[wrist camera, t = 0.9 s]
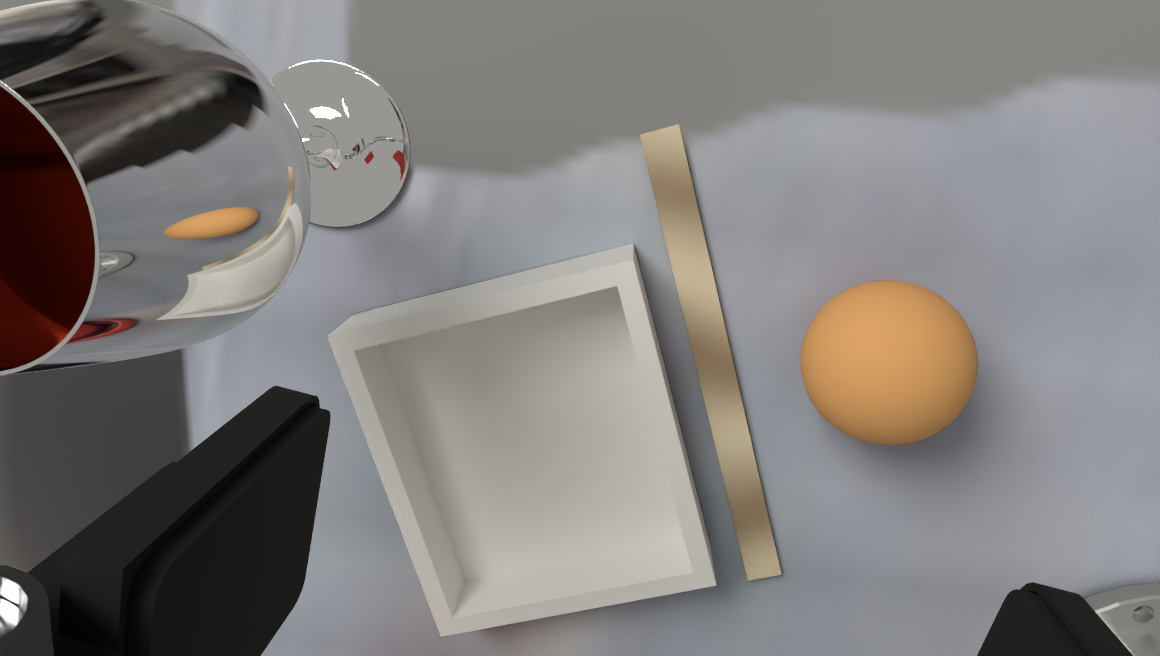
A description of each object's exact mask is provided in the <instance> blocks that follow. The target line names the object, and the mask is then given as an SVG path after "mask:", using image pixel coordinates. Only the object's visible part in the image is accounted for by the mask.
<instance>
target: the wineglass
mask: <svg viewBox="0 0 1160 656" xmlns="http://www.w3.org/2000/svg"><path fill="white" fill-rule="evenodd" d="M409 163H410V140H409V134H408V129H407V126H406V123H405V120H404V117H403V115H402V113H401V111H400V109H399V107H398V105H397V104H396V102H395V101H394V99H393V97H392V96H391V95H390V94H389V92H388V91H387V90H386V89H385V88H384V87H383V86H382V85H381V84H380V83H379V82H378V81H377V80H376V79H374V78H373V77H372V76H370V75H369V74H367V73H366V72H364V71H362V70H361V69H359V68H357V67H354V66H352V65H350V64H347V63H343V62H339V61H334V60H325V59H318V60H309V61H304V62H300V63H297V64H294V65H292V66H290V67H288V68H286V69H284V70H283V71H281V72H280V73H278V74H277V75H276V76H274V77H273V78H272V79H271V80H270V81H269V79H268V78H267V77H266V76H265V75H264V73H263V72H262V71H261V70H260V69H259V68H258V67H257V66H256V65H255V64H254V63H253V62H252V61H251V60H250V59H249V58H248V57H247V56H246V55H245V54H243V53H242V52H241V51H240V50H239V49H238V48H236V47H235V46H234V45H233V44H231V43H230V42H229V41H227V40H226V39H224V38H223V37H221V36H220V35H218V34H217V33H215V32H214V31H212V30H210V29H209V28H207V27H205V26H204V25H202V24H200V23H198V22H196V21H194V20H192V19H190V18H187V17H185V16H183V15H181V14H178V13H176V12H173V11H170V10H167V9H164V8H161V7H157V6H154V5H150V4H146V3H142V2H136V1H131V0H52V1H45V2H39V3H34V4H29V5H23V6H19V7H14V8H10V9H5V10H1V11H0V376H2V375H10V374H19V373H27V372H35V371H44V370H52V369H61V368H69V367H75V366H76V367H77V366H84V365H91V364H99V363H106V362H113V361H119V360H126V359H133V358H138V357H144V356H150V355H155V354H160V353H164V352H169V351H173V350H177V349H181V348H185V347H188V346H192V345H195V344H198V343H201V342H204V341H206V340H209V339H212V338H214V337H216V336H218V335H221V334H223V333H225V332H227V331H229V330H231V329H233V328H234V327H236V326H238V325H239V324H241V323H242V322H244V321H246V320H247V319H248V318H250V317H251V316H252V315H254V314H255V313H256V312H257V311H259V310H260V309H261V308H262V307H263V306H264V305H265V304H266V303H268V302H269V301H270V299H271V298H272V297H273V296H274V295H275V294H276V293H277V292H278V290H279V289H280V288H281V287H282V285H283V284H284V283H285V281H286V280H287V278H288V277H289V275H290V273H291V272H292V270H293V268H294V266H295V264H296V262H297V260H298V258H299V256H300V254H301V251H302V248H303V246H304V243H305V239H306V236H307V232H308V228H309V223H310V222H311V223H315V224H318V225H323V226H330V227H345V226H352V225H356V224H360V223H363V222H365V221H368V220H370V219H372V218H373V217H375V216H377V215H378V214H380V213H381V212H382V211H384V210H385V209H386V208H387V207H388V206H389V205H390V204H391V203H392V202H393V201H394V199H395V198H396V197H397V195H398V194H399V192H400V190H401V188H402V186H403V184H404V182H405V179H406V176H407V173H408V169H409Z"/></svg>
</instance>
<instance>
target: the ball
mask: <svg viewBox="0 0 1160 656" xmlns="http://www.w3.org/2000/svg"><path fill="white" fill-rule="evenodd" d="M977 368H978V361H977V351H976V347H975V342H974V339H973V336H972V334H971V332H970V330H969V328H968V326H967V324H966V323H965V321H964V319H963V318H962V316H961V315H960V314H959V313H958V311H957V310H956V309H955V308H954V307H953V306H951V305H950V304H949V303H948V302H947V301H946V300H945V299H943V298H942V297H941V296H939V295H938V294H936V293H934V292H932V291H930V290H928V289H926V288H924V287H921V286H919V285H916V284H912V283H907V282H903V281H892V280H882V281H873V282H867V283H864V284H860V285H857V286H854V287H852V288H850V289H847V290H845V291H843V292H842V293H840V294H838V295H837V296H835V297H834V298H833V299H831V300H830V301H829V302H828V303H827V304H826V305H825V306H823V307H822V308H821V310H820V311H819V312H818V313H817V315H816V316H815V317H814V319H813V321H812V322H811V324H810V326H809V328H808V330H807V332H806V334H805V337H804V341H803V344H802V350H801V373H802V378H803V382H804V386H805V388H806V391H807V393H808V395H809V398H810V400H811V401H812V403H813V404H814V406H815V407H816V409H817V410H818V411H819V412H820V414H821V415H822V416H823V417H824V418H825V419H826V420H827V421H828V422H829V423H830V424H832V425H833V426H834V427H836V428H837V429H839V430H840V431H842V432H843V433H845V434H847V435H849V436H851V437H853V438H856V439H859V440H862V441H865V442H868V443H873V444H880V445H902V444H908V443H913V442H917V441H920V440H923V439H925V438H928V437H930V436H932V435H934V434H936V433H938V432H939V431H941V430H942V429H944V428H945V427H946V426H948V425H949V424H950V423H951V422H952V421H953V420H954V419H955V418H956V417H957V416H958V415H959V414H960V413H961V411H962V410H963V409H964V407H965V406H966V404H967V402H968V400H969V398H970V397H971V394H972V391H973V389H974V385H975V381H976V377H977Z"/></svg>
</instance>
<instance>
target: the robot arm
mask: <svg viewBox="0 0 1160 656" xmlns="http://www.w3.org/2000/svg"><path fill="white" fill-rule="evenodd" d="M319 407H320V405H319V399H318V397H317V396H313V395H310V394H306V393H302V392H298V391H294V390H290V389H287V388H283V387H279V386H274V387H272V388H270V389H269V390H268V391H266V392H265V393H264V394H263V395H261V396H260V397H259V398H257V399H256V400H255V401H254V402H252V403H251V404H250V405H249V406H247V407H246V408H245V409H244V410H242V411H241V412H240V413H238V414H237V415H236V416H235V417H233V418H232V419H231V420H230V421H228V422H227V423H226V424H225V425H223V426H222V427H221V428H219V429H218V430H217V431H216V432H214V433H213V434H212V435H211V436H209V437H208V438H207V439H206V440H204V441H203V442H202V443H200V444H199V445H198V446H197V447H195V448H194V449H193V450H192V451H190V452H189V453H188V454H187V455H185V456H184V457H183V458H181V459H180V460H179V461H178V462H172V463H170V464H168V465H167V466H165V467H163V468H162V469H161V470H159V471H158V472H157V473H155V474H154V475H153V476H151V477H150V478H149V479H148V480H146V481H145V482H144V483H142V484H141V485H140V486H139V487H137V488H136V489H135V490H133V491H132V492H131V493H130V494H128V495H127V496H126V497H124V498H123V499H122V500H121V501H119V502H118V503H117V504H115V505H114V506H113V507H112V508H110V509H109V510H108V511H106V512H105V513H104V514H103V515H101V516H100V517H99V518H97V520H95V521H94V522H92V523H91V524H90V525H88V526H87V527H86V528H85V529H83V530H82V531H81V532H80V533H78V534H77V535H76V536H74V537H73V538H72V539H70V540H69V541H68V542H67V543H66V544H64V545H63V546H62V547H60V548H59V549H58V550H56V551H55V552H54V553H52V554H51V555H50V556H49V557H47V558H46V559H45V560H43V561H42V562H41V563H40V564H38V565H37V566H36V567H35V568H33V569H32V570H31V571H29V572H25V571H22V570H19V569H16V568H14V567H11V566H8V565H0V656H261V654H262V653H263V651H264V650H265V648H266V647H267V645H268V644H269V643H270V641H271V640H272V638H273V637H274V635H275V634H276V632H277V631H278V629H279V628H280V626H281V625H282V624H283V622H284V621H285V619H286V618H287V616H288V615H289V613H290V612H291V610H292V609H293V607H294V606H295V604H296V602H297V600H298V598H299V596H300V593H301V591H302V588H303V585H304V581H305V576H306V570H307V564H308V558H309V551H310V545H311V539H312V532H313V526H314V520H315V514H316V507H317V501H318V495H319V488H320V482H321V476H322V470H323V463H324V457H325V451H326V444H327V438H328V432H329V426H330V412H329V410H325V409H321V408H319ZM977 656H1160V583H1147V584H1139V585H1132V586H1125V587H1120V588H1116V589H1113V590H1109V591H1106V592H1102V593H1099V594H1095V595H1092V596H1090V597H1088V598H1086V599H1084V598H1082V597H1081V596H1080V595H1079V594H1076V593H1072V592H1068V591H1064V590H1060V589H1056V588H1053V587H1049V586H1045V585H1041V584H1037V583H1033V582H1032V583H1028V584H1026V585H1025V586H1023V587H1022V588H1021V589H1020V590H1018V589H1016V590H1012V591H1011V592H1010V593H1009V594H1008V595H1007V597H1006V598H1005V600H1004V602H1003V604H1002V606H1001V608H1000V610H999V612H998V614H997V616H996V618H995V620H994V622H993V624H992V626H991V628H990V630H989V632H988V635H987V637H986V639H985V641H984V643H983V645H982V647H981V649H980V651H979V653H978V655H977Z"/></svg>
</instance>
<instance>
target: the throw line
mask: <svg viewBox="0 0 1160 656" xmlns="http://www.w3.org/2000/svg"><path fill="white" fill-rule="evenodd" d="M640 138H641V142H642V146H643V150H644V154H645V158H646V163H647V167H648V171H649V175H650V179H651V183H652V187H653V191H654V196H655V200H656V204H657V208H658V212H659V216H660V220H661V224H662V229H663V233H664V237H665V241H666V245H667V249H668V253H669V257H670V261H671V266H672V270H673V274H674V278H675V282H676V286H677V290H678V294H679V299H680V303H681V307H682V311H683V315H684V319H685V323H686V327H687V332H688V336H689V340H690V344H691V348H692V352H693V356H694V360H695V365H696V369H697V373H698V377H699V381H700V385H701V389H702V393H703V398H704V402H705V406H706V410H707V414H708V418H709V422H710V426H711V431H712V435H713V439H714V443H715V447H716V451H717V455H718V459H719V464H720V468H721V472H722V476H723V480H724V484H725V488H726V492H727V497H728V501H729V505H730V509H731V513H732V517H733V521H734V525H735V530H736V534H737V538H738V542H739V546H740V550H741V554H742V558H743V563H744V567H745V571H746V575H747V579H748V581H750V580H755V579H761V578H766V577H771V576H777V575H782V574H781V570H780V566H779V561H778V557H777V552H776V548H775V544H774V539H773V535H772V530H771V526H770V522H769V517H768V513H767V509H766V504H765V500H764V495H763V491H762V487H761V482H760V478H759V473H758V469H757V465H756V460H755V456H754V451H753V447H752V443H751V438H750V434H749V430H748V425H747V421H746V416H745V412H744V408H743V403H742V399H741V394H740V390H739V386H738V381H737V377H736V372H735V368H734V364H733V359H732V355H731V351H730V346H729V342H728V337H727V333H726V329H725V324H724V320H723V315H722V311H721V307H720V302H719V298H718V294H717V289H716V285H715V280H714V276H713V272H712V267H711V263H710V258H709V254H708V250H707V245H706V241H705V236H704V232H703V228H702V223H701V219H700V215H699V210H698V206H697V201H696V197H695V193H694V188H693V184H692V179H691V175H690V171H689V166H688V162H687V158H686V153H685V149H684V144H683V140H682V136H681V131H680V127H679V124H677V125H674V126H670V127H666V128H663V129H659V130H655V131H652V132H648V133H645V134H641V135H640Z"/></svg>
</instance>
